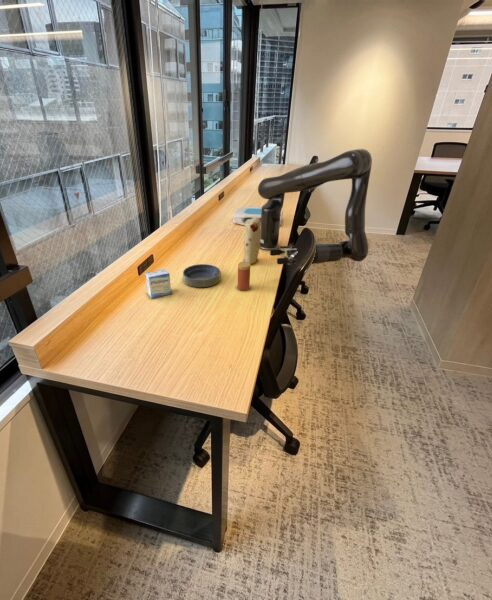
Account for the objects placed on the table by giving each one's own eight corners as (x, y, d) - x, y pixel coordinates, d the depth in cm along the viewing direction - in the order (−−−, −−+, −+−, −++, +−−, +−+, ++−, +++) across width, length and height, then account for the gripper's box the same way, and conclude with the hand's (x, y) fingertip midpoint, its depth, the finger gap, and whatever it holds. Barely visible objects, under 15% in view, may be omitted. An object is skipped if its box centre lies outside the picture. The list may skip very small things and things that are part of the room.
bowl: (182, 273, 138) (181, 265, 137) (217, 270, 141) (217, 263, 139) (184, 289, 126) (184, 281, 124) (223, 286, 128) (223, 278, 126)
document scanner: (280, 228, 190) (281, 217, 187) (232, 225, 195) (233, 214, 192) (282, 217, 208) (283, 207, 205) (239, 215, 213) (239, 205, 210)
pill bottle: (236, 285, 128) (236, 262, 123) (247, 284, 129) (248, 261, 124) (238, 291, 125) (239, 267, 119) (250, 290, 125) (251, 266, 120)
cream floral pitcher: (254, 267, 144) (257, 222, 134) (240, 264, 146) (241, 220, 136) (261, 258, 151) (263, 215, 141) (247, 256, 154) (249, 214, 143)
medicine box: (151, 299, 120) (148, 277, 115) (147, 293, 123) (144, 272, 119) (171, 294, 123) (169, 273, 118) (167, 289, 126) (165, 268, 122)
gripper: (308, 238, 129) (268, 240, 126) (324, 251, 117) (280, 254, 114) (306, 256, 133) (267, 259, 130) (321, 270, 120) (278, 274, 118)
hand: (273, 256), depth 122 cm, fingers open, 8 cm apart
